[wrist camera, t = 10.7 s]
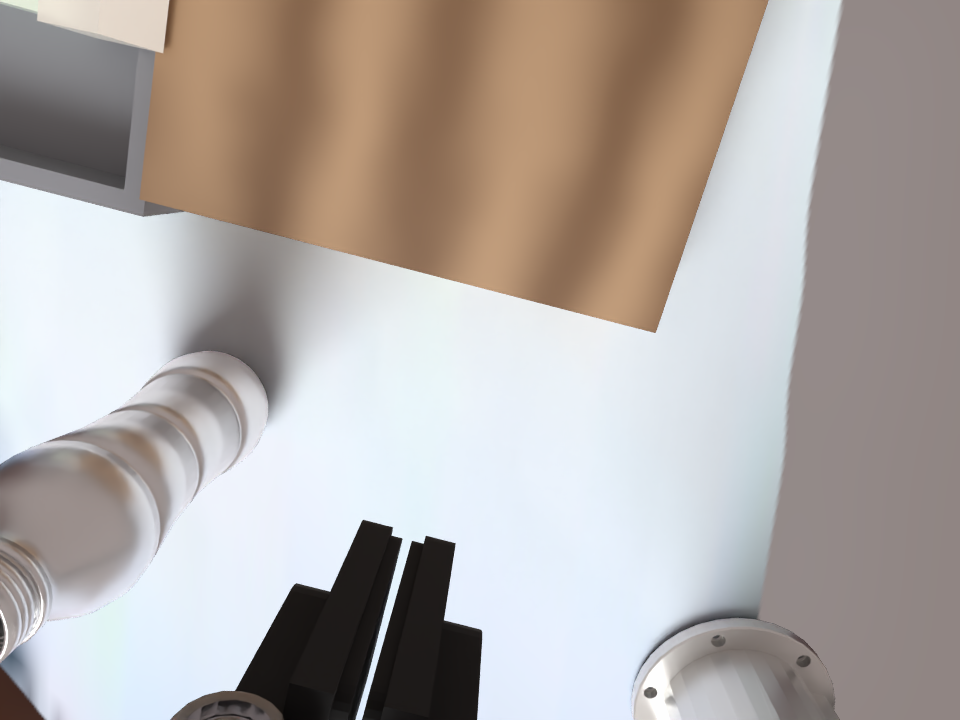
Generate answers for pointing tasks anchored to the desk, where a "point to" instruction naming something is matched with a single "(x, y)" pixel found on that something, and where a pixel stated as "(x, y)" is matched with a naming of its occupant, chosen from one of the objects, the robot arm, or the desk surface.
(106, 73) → the bin
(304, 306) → the desk surface
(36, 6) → the tile sage
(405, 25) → the wooden block
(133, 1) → the tile cream
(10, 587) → the plastic bottle
